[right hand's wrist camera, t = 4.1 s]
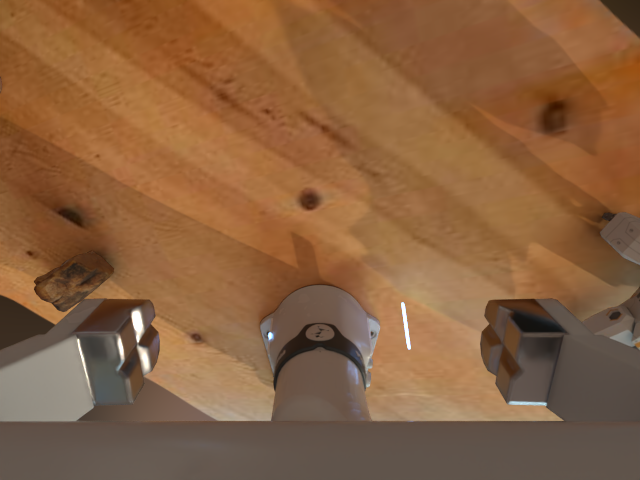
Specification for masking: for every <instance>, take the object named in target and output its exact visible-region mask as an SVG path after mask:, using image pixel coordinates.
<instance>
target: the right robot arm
mask: <svg viewBox="0 0 640 480" xmlns="http://www.w3.org/2000/svg"><path fill="white" fill-rule="evenodd" d="M401 304H402V311H403V318H404V325H405V332H406V340H407V346H408V349H410V341H409V334H408V327H407V319H406V312H405V305H404V303H401ZM484 316H485V318H486V319H487V321H488V322H489V325H488V326H487V327H486V328H485V329H484V330H483V331H482V334H481V342H480V347H481V356H482V359H483V362H484V365H485V366H486V368H487V370H488V371H489V372H491V373H492V374H494V375H496V376H497V377H496V383H495V384H496V386H497V387H498V389H499V391H500V392H501V394H502V396H503V398H504V399H505V401H506V403H507V404H513V405H546V407H547V408H548V409H549V410H551V411H552V412H553V413H555V414H556V415H557V416H559V417H560V418H561V419H563V420H564V421H372V419H371V416H370V413H369V409H368V405H367V401H366V396H365V390H366V387H369V386H370V382H371V373H370V372H368V368H372V365H373V360H372V359H371V358H372V354H373V351H374V347H375V344H376V341H377V337H378V334H379V330H380V323H379V321H378V320H377V319H376V318H375V317H373V316H372V315H370V314H368V313H366V312H365V311H364V310H363V309H362V307H361V306H360V304H359V303H358V302H357V300H356V299H355V298H354V297H352V296H351V295H350V294H349V293H347V292H345V291H343V290H341V289H339V288H336V287H333V286H328V285H312V286H307V287H304V288H301V289H299V290H297V291H295V292H293V293H291V294H290V295H289V296H288V297H286V298H285V299H284V300H283V302H282V303H281V304H280V306H279V307H278V309H277V310H276V311H275V312H274V313H272V314H270V315H269V316H267V317H265V318H264V319H263V320H262V321H261V323H260V330H261V334H262V337H263V340H264V344H265V347H266V351H267V354H268V358H269V361H270V364H271V368H272V371H273V377H274V390H275V397H274V404H273V411H272V419H271V421H76V420H77V419H79V418H80V417H81V416H83V415H84V414H85V413H87V412H88V411H89V410H91V409H92V408H93V407H94V405H126V404H133V403H134V401H135V399H136V398H137V396H138V394H139V392H140V391H141V389H142V387H143V386H144V384H145V383H144V377H143V376H144V375H146V374H148V373H149V372H151V371H152V370H153V368H154V366H155V364H156V363H157V359H158V355H159V345H160V341H159V334H158V331H157V330H156V329H155V328H154V327H153V326H152V325H151V322H152V321H153V319H154V318H155V311H154V306H153V303H152V302H151V301H150V300H141V299H106V298H104V299H84V300H82V301H81V302H80V303H79V304H78V305H77V306H76V307H75V308H74V309H73V310H72V311H71V312H69V313H68V314H67V315H66V316H65V317H64V318H63V319H62V320H61V321H60V322H59V323H57V324H56V325H55V326H54V327H53V328H52V329H51V330H50V331H49V332H48V333H47V334H45V335H37V336H34V337H32V338H29V339H27V340H24V341H22V342H19V343H17V344H14V345H12V346H9V347H7V348H4V349H2V350H0V480H640V350H638V349H635V348H633V347H631V346H628V345H626V344H623V343H621V342H618V341H616V340H613V339H611V338H608V337H606V336H604V335H595V334H594V333H592V332H591V331H590V330H589V329H588V328H587V327H586V326H585V325H584V324H583V323H582V322H580V321H579V320H578V319H577V318H576V317H575V316H574V315H573V314H572V313H571V312H570V311H569V310H567V309H566V308H565V307H564V306H563V305H562V304H561V303H560V302H559V301H558V300H555V299H552V298H548V299H507V300H490V301H488V304H487V306H486V310H485V315H484ZM268 331H270V332H269V333H268ZM370 331H372V333H371V332H370Z"/></svg>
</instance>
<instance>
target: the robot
mask: <svg viewBox="0 0 640 480" xmlns="http://www.w3.org/2000/svg"><path fill="white" fill-rule="evenodd" d="M602 218H603V219H605V220H608V221H610V222H609V223H608V224H607V225H606V226H605V227H604V228H603V229H602V230H601V231H600V235H601V237H602V238H603V239H604V240H605V241H606V242H607V243H609V244H610V245H611V246H612V247H613V248H614V249H615V250H616V251H617V252H618V253H619V254H620V255H621V256H622V257H623V258H625V259H627V260H629V261H632V262H634V263H636V264H638V265H640V218H638V217H636V216H633V215H631V214H628V213H626V212H622V213H618V214H611V213H604V215H603V217H602ZM582 323H583V324H584V325H585V326H586V327H587V328H588V329H589V330H590V331H591V332H592V333H594V334H595V335H604V336H606V337H608V338H611V339H613V340H616V341H618V342H621V343H623V344H626V345H628V346H631V347H633V348H635V349H638V350H640V287H639V289H638V290H637V291H636V292H635V293H634V294H633V295H632V297H631V298H630V299H628V300H627V301H625V302H624V303H622V304H621V305H619V306H617V307H611V308H608V309H605V310H603V311H601V312H599V313H597V314H595V315H593V316H591V317H589V318H588V319H586V320H584V321H582Z"/></svg>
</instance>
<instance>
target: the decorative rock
mask: <svg viewBox="0 0 640 480" xmlns="http://www.w3.org/2000/svg"><path fill="white" fill-rule="evenodd" d="M113 273H114V268H113V267H112V266H111V265H109V264H108V263H107V262H106V261H105V260H104V259H103V258H102V257H101V256H99V255H98V254H96V253H95V252H94V251H90V252H88V253H86V254H79V255H77V256H75V257H73V258H72V259H69V260H67V261H66V262H65V263H63V264H62V265H61V267H58V268H55V269H53V270H52V271H50V272H48V273H47V274H45V275H43V276H40V277H37V278H36V280H35V281H34V283H35V284H36V286H35V287H34V290H35V292H36V294H37V295H38V296H39V297H40V298H41V299H42V300H44V301H46V302H50V303H52V304H53V305H54V306H55V307H56V309H57V310H59V311H62V312H65V311H67V310H68V309H70V308H71V307H73V306H74V305H76V304H77V303H79V302H81V301H82V300H83V299H84V298H85V297H86V296H88V295H89V294H90V293H92V292H93V291H94V290H95V289H96V288H97V287H99V286H100V285H101V284H102V283H103V282H104V281H105V280H107V279H108V278H109V277H110V276H111V275H112V274H113Z"/></svg>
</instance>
